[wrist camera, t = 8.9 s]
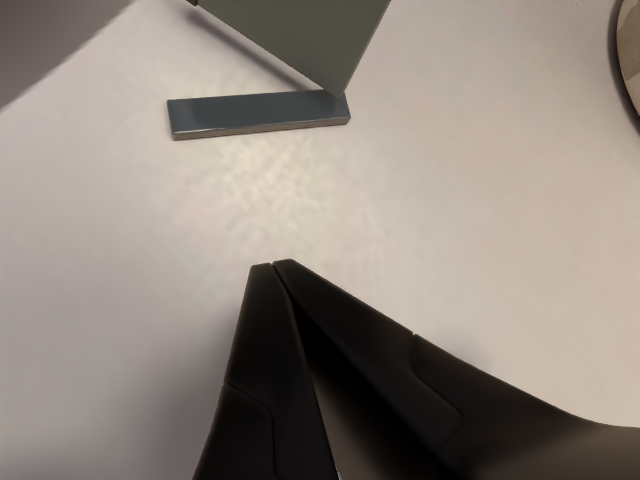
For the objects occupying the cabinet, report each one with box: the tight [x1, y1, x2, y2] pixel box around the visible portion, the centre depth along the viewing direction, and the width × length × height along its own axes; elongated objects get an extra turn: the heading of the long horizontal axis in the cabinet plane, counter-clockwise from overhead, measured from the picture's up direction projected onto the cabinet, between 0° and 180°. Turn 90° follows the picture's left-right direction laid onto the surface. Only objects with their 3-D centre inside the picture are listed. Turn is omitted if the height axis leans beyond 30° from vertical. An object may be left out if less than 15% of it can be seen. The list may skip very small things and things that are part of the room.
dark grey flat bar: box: [167, 89, 351, 140], centre depth 19 cm, size 2×8×1 cm, turn 104°
